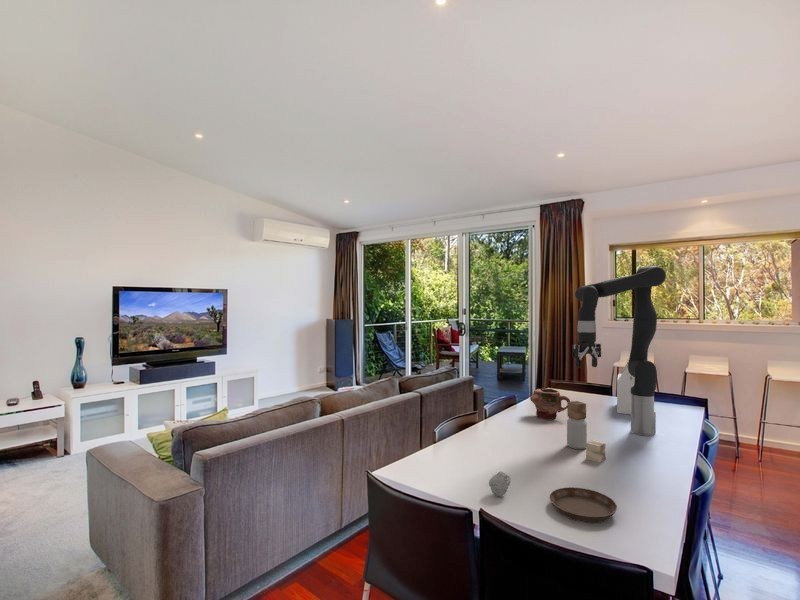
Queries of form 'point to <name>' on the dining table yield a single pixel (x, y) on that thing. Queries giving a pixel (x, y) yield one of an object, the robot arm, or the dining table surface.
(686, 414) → the dining table surface
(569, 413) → the walnut block
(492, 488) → the grey lumpy rounded piece
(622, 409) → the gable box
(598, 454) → the maple block
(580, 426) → the can
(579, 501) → the plant saucer
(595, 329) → the robot arm
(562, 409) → the clay jug
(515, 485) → the dining table surface
